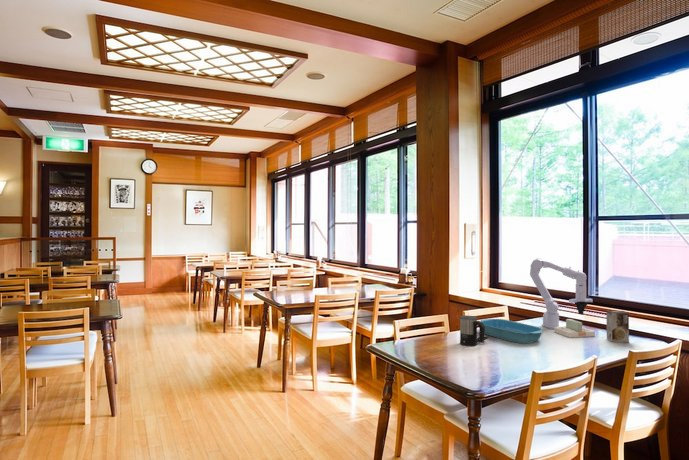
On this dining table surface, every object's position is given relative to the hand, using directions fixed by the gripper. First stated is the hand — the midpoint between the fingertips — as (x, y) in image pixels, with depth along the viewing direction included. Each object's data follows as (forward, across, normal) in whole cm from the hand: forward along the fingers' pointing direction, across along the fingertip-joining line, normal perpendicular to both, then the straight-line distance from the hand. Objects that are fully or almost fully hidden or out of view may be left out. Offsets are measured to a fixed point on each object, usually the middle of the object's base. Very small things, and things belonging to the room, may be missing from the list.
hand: (580, 314), depth 263 cm
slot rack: (+10, -10, -7) cm, 16 cm away
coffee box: (+10, +4, -24) cm, 26 cm away
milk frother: (+10, -77, -15) cm, 79 cm away
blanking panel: (+9, -10, -7) cm, 15 cm away
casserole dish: (+10, -50, -6) cm, 52 cm away
